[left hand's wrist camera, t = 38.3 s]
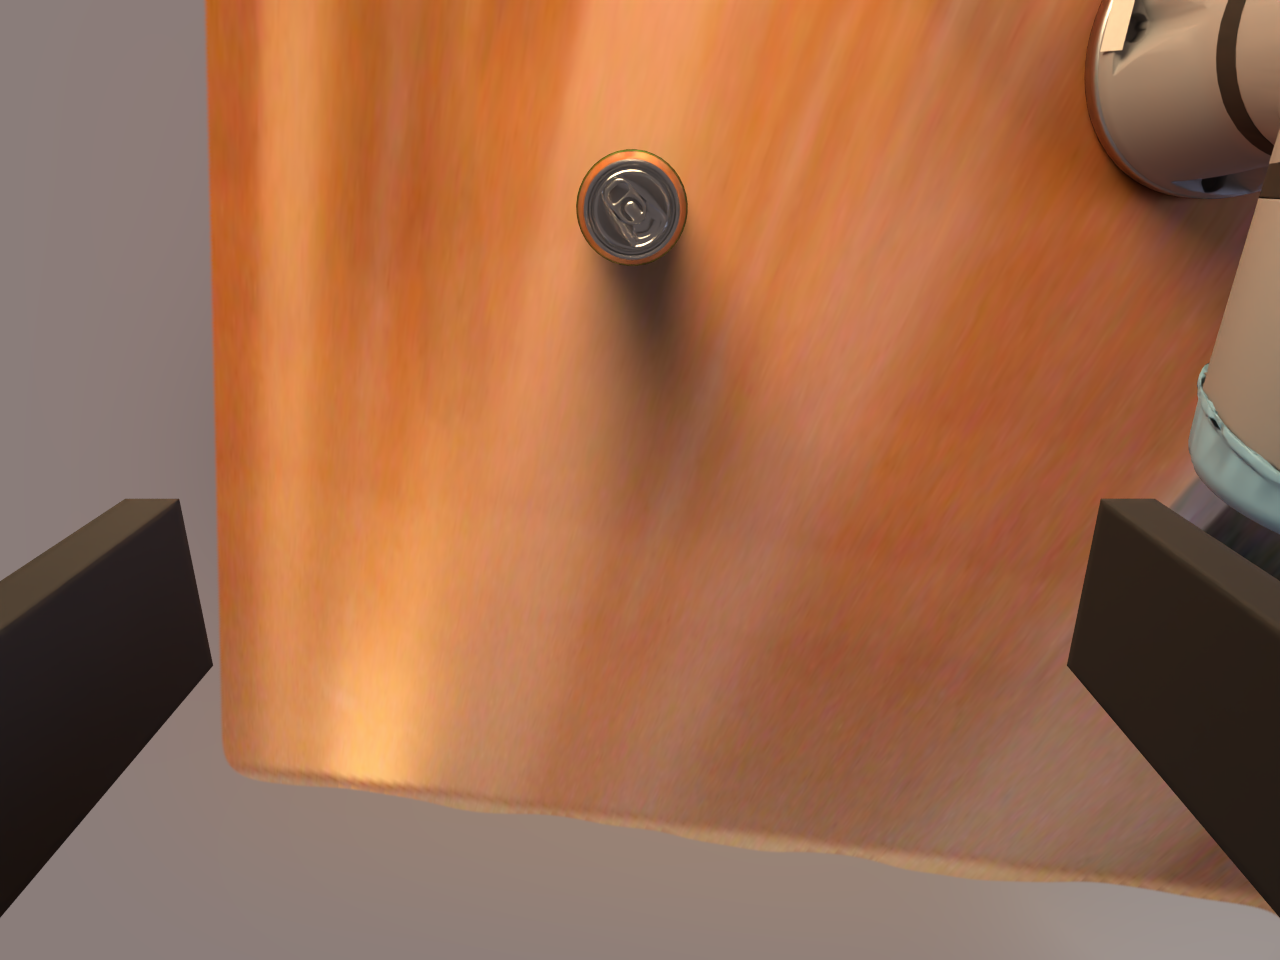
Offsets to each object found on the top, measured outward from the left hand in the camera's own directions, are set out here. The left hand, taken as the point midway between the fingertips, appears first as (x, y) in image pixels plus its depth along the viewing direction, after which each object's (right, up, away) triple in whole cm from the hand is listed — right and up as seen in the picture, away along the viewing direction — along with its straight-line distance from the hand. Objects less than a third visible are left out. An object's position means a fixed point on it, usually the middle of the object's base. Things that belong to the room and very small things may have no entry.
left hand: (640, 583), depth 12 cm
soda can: (0, +18, +37) cm, 41 cm away
